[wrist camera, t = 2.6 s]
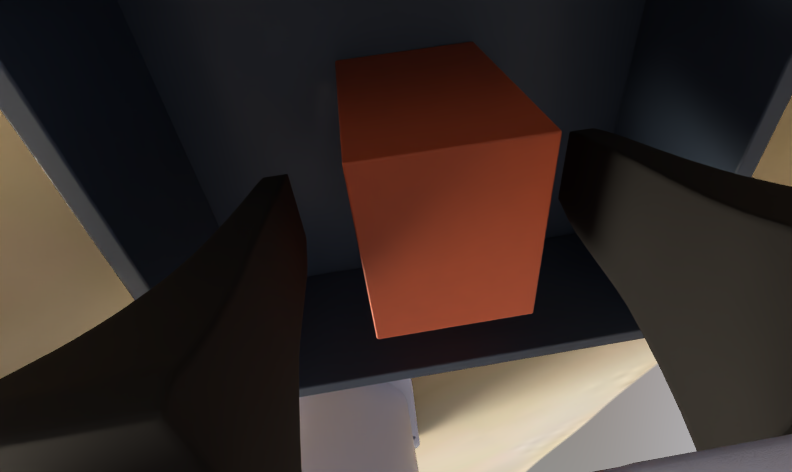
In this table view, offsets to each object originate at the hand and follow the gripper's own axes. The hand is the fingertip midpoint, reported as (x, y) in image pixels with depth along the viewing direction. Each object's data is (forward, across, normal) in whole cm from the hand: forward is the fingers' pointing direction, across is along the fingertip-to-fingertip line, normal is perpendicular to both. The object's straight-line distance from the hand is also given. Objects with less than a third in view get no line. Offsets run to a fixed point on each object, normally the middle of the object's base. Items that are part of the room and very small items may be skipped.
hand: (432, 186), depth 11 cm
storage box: (+4, 0, 0) cm, 4 cm away
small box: (+3, 0, 0) cm, 3 cm away
